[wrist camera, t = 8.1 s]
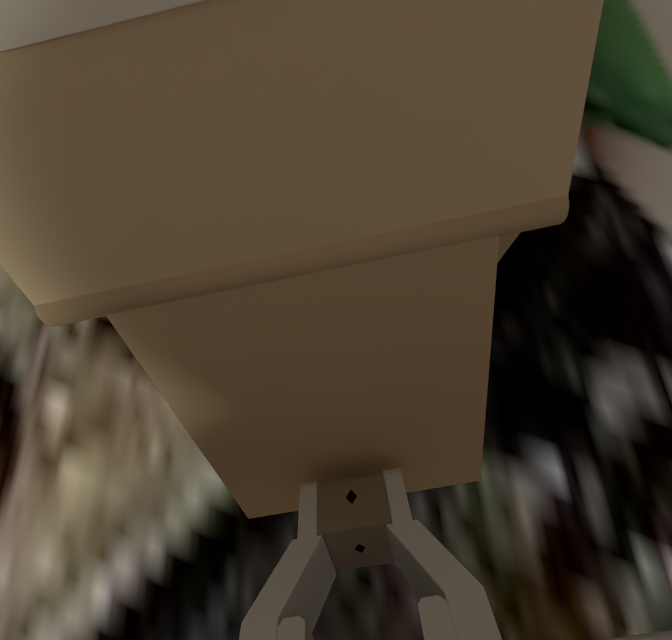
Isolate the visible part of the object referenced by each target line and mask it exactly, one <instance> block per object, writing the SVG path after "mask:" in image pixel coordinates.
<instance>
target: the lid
mask: <svg viewBox="0 0 672 640" xmlns="http://www.w3.org/2000/svg"><path fill="white" fill-rule="evenodd" d="M603 2H604V0H0V265H1V266H2V268H3V269H4V270H5V271H6V273H7V274H8V275H9V276H10V277H11V279H12V280H13V281H14V282H15V283H16V285H17V286H18V287H19V288H20V289H21V291H22V292H23V293H24V294H25V295H26V297H27V298H28V299H29V300H30V301H31V303H32V304H33V305H34V309H35V312H36V314H37V316H38V317H39V319H40V320H41V321H42V322H44V323H45V324H47V325H49V326H59V325H64V324H69V323H74V322H79V321H84V320H89V319H94V318H99V317H104V316H107V317H108V319H109V320H110V322H111V323H112V325H113V326H114V327H115V329H116V330H117V332H118V333H119V334H120V336H121V337H122V339H123V340H124V342H125V343H126V344H127V346H128V347H129V349H130V350H131V352H132V353H133V354H134V356H135V357H136V359H137V360H138V362H139V363H140V364H141V366H142V367H143V369H144V370H145V372H146V373H147V374H148V376H149V377H150V379H151V380H152V382H153V383H154V384H155V386H156V387H157V389H158V390H159V392H160V393H161V394H162V396H163V397H164V399H165V400H166V401H167V403H168V404H169V406H170V407H171V409H172V410H173V411H174V413H175V414H176V416H177V417H178V419H179V420H180V421H181V423H182V424H183V426H184V427H185V429H186V430H187V431H188V433H189V434H190V436H191V437H192V439H193V440H194V441H195V443H196V444H197V446H198V447H199V449H200V450H201V451H202V453H203V454H204V456H205V457H206V459H207V460H208V461H209V463H210V464H211V466H212V467H213V468H214V470H215V471H216V473H217V474H218V476H219V477H220V478H221V480H222V481H223V483H224V484H225V486H226V487H227V488H228V490H229V491H230V493H231V494H232V496H233V497H234V498H235V500H236V501H237V503H238V504H239V506H240V507H241V508H242V510H243V511H244V513H245V514H246V516H247V517H248V518H255V517H261V516H267V515H273V514H279V513H285V512H291V511H298V510H299V495H300V487H301V484H306V483H312V482H318V481H325V480H332V479H339V478H346V477H350V476H354V475H359V474H364V473H370V472H375V471H380V470H382V471H383V470H389V469H394V468H400V470H401V474H402V478H403V482H404V486H405V491H406V493H407V492H413V491H419V490H425V489H431V488H438V487H444V486H450V485H456V484H462V483H468V482H474V481H480V480H481V467H482V454H483V441H484V428H485V415H486V402H487V389H488V376H489V363H490V351H491V338H492V325H493V312H494V299H495V286H496V273H497V260H498V247H499V236H504V235H509V234H514V233H519V232H524V231H528V230H533V229H538V228H543V227H548V226H553V225H558V224H561V223H563V222H564V221H565V219H566V217H567V215H568V211H569V197H568V192H569V187H570V182H571V176H572V171H573V165H574V160H575V154H576V149H577V143H578V138H579V133H580V127H581V122H582V116H583V111H584V105H585V100H586V94H587V89H588V83H589V78H590V73H591V67H592V62H593V56H594V51H595V45H596V40H597V34H598V29H599V23H600V18H601V13H602V7H603Z"/></svg>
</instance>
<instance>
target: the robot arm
mask: <svg viewBox="0 0 672 640" xmlns="http://www.w3.org/2000/svg"><path fill="white" fill-rule="evenodd" d="M387 563H395V564H396V566H397V567H398V568H399V570H400V571H401V572H402V574H403V575H404V576H405V578H406V579H407V580H408V582H409V583H410V584H411V586H412V587H413V588H414V590H415V591H416V593H417V594H418V595H419V597H420V598H421V600H420V602H419V604H418V608H419V614H420V619H421V625H422V630H423V636H424V640H502V638H501V636H500V633H499V630H498V627H497V624H496V621H495V618H494V616H493V613H492V610H491V607H490V604H489V601H488V598H487V595H486V593H485V590H484V587H483V586H482V585H481V584H480V583H479V582H478V581H477V580H476V579H475V578H474V577H473V576H472V575H471V574H470V573H469V572H468V571H467V570H466V569H465V568H464V567H463V566H462V565H461V564H460V563H459V562H458V560H457V559H456V558H455V557H454V556H453V555H452V554H451V553H450V552H449V551H448V550H447V549H446V548H445V547H444V546H443V545H442V544H441V543H440V542H439V541H438V540H437V539H436V538H435V537H434V536H433V535H432V534H431V533H430V532H429V531H428V530H427V529H426V528H425V527H424V526H423V525H422V524H421V523H420V522H419V521H418V520H412V517H411V512H410V508H409V504H408V499H407V495H406V491H405V486H404V482H403V478H402V474H401V470H400V468H394V469H389V470H383V471H382V470H380V471H375V472H370V473H364V474H359V475H354V476H350V477H346V478H339V479H332V480H325V481H318V482H312V483H306V484H301V487H300V495H299V517H298V538H297V539H294V540H292V541H291V543H290V545H289V546H288V548H287V550H286V551H285V553H284V555H283V556H282V558H281V559H280V561H279V563H278V564H277V566H276V568H275V569H274V571H273V572H272V574H271V576H270V577H269V579H268V581H267V582H266V584H265V585H264V587H263V589H262V590H261V592H260V594H259V595H258V597H257V598H256V600H255V602H254V603H253V605H252V607H251V608H250V610H249V611H248V613H247V615H246V616H245V618H244V620H243V621H242V624H241V630H240V637H239V640H314V638H313V636H312V631H313V629H314V627H315V624H316V622H317V619H318V617H319V615H320V612H321V610H322V607H323V605H324V603H325V600H326V598H327V595H328V593H329V591H330V588H331V586H332V583H333V581H334V579H335V576H336V572H337V571H342V570H348V569H353V568H358V567H364V566H371V565H379V564H387ZM604 640H672V630H669V631H661V632H654V633H647V634H640V635H632V636H625V637H618V638H611V639H604Z"/></svg>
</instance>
